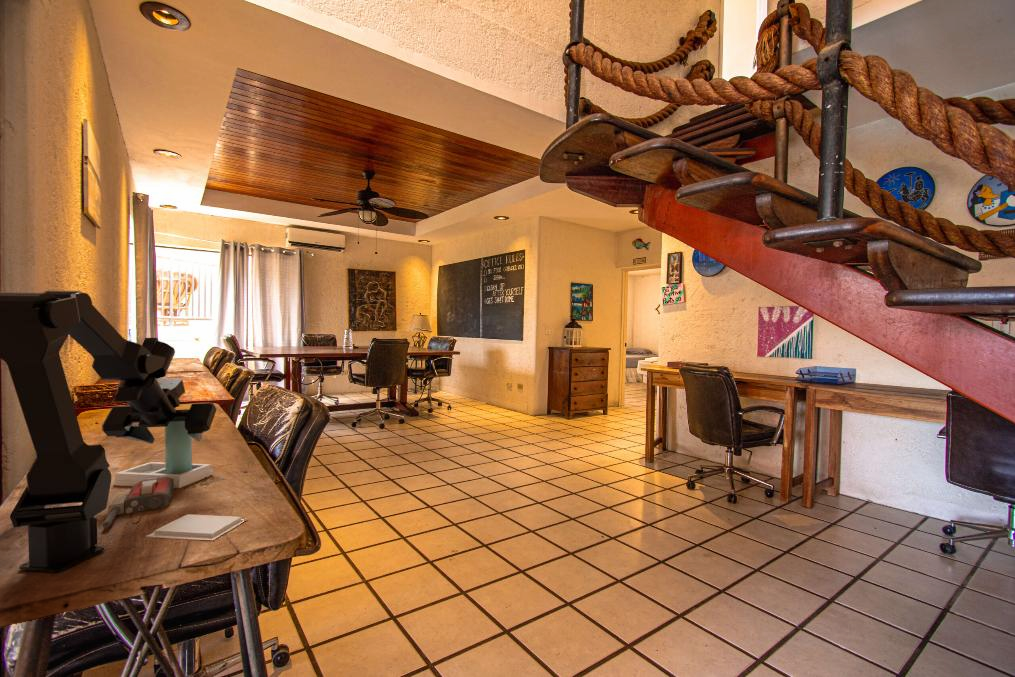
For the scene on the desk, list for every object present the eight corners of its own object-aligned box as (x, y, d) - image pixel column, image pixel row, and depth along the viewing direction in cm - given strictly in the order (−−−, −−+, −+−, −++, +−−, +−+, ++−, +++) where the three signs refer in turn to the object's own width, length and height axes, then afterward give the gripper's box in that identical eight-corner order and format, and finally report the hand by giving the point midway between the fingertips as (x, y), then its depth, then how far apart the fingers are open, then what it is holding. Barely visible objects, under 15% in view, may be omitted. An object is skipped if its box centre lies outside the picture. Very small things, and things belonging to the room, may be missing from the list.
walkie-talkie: (122, 497, 90) (97, 535, 73) (121, 475, 90) (96, 508, 73) (175, 488, 95) (164, 522, 78) (175, 468, 95) (163, 497, 78)
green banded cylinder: (183, 478, 97) (182, 419, 96) (159, 479, 96) (158, 419, 96) (197, 471, 102) (196, 414, 101) (174, 471, 101) (173, 415, 101)
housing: (178, 488, 94) (178, 476, 94) (113, 485, 96) (113, 473, 96) (212, 474, 103) (212, 463, 103) (151, 472, 105) (151, 461, 105)
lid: (248, 523, 78) (248, 515, 78) (213, 545, 70) (212, 536, 70) (187, 519, 80) (187, 512, 80) (145, 541, 72) (145, 532, 72)
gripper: (212, 365, 95) (233, 408, 106) (110, 367, 91) (143, 412, 102) (195, 407, 87) (219, 450, 98) (82, 412, 83) (121, 455, 94)
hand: (176, 440), depth 98 cm, fingers open, 9 cm apart
